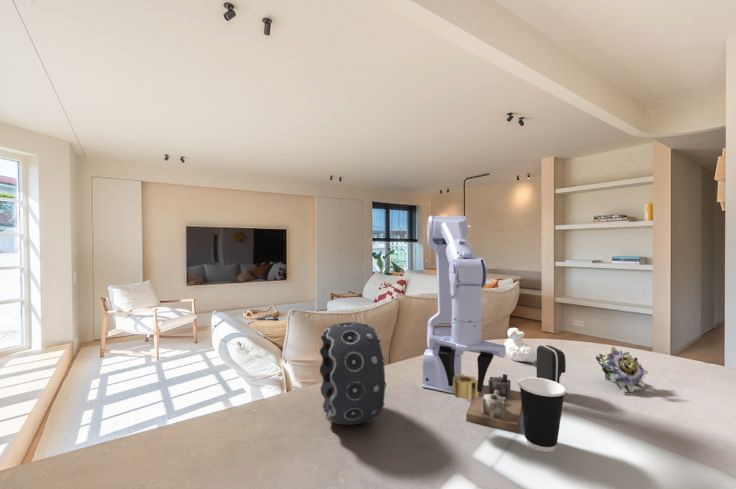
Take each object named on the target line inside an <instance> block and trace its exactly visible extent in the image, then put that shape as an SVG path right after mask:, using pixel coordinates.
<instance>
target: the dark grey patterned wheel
mask: <svg viewBox="0 0 736 489" xmlns="http://www.w3.org/2000/svg"><path fill="white" fill-rule="evenodd" d="M322 331H323V332H322V334H321V335H320V336H321V337H320V339H321V341H322V344H321V346H320V348H319V354H320V355H321V358H322V360H321V364H320V366H319V374H320V375H321V377H322V383H321V385H320V387H319V389H320V394H321V395H322V396H323V398H324V401H323V404H322V411H324V412H325V413H326V414H325V415H324V416H325V417H324V418H325V419H326V420H327V421H328V422H331V423H333V424H337V425H342V426H344V425H346V426H347V425H359V424H363V423H370V422H372V421H373V419H374V418H375V417H376V416H379V415H380V414H381V412H382V409H383V407H384V406H385V394H386V387H387V383H386V370H385V363H386V360H385V358H384V355H383V349H382V344H381V338H379V336H378V334H377V332H376V329H375V327H373V326H370V325H368V324H367V323H366V322H356V321H345V322H344V321H343V322H339V323H338V322H337V323H335V324H332V325H330V326H328V327H326V328H325V329H323V330H322Z"/></svg>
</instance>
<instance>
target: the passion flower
mask: <svg viewBox="0 0 736 489" xmlns="http://www.w3.org/2000/svg"><path fill="white" fill-rule="evenodd" d="M610 347H611V348H610V353H608V354H603V353H599V354H598V355H596V356H595V359H596V361H597V362H598V364H599V365H600V366H601V370H602V371H603V373H604V377H605V381H606V380H607V381H614V380H615V384H616V386H617V387H618V389H619V390H622V389H623V388H624V389H625V390H626V391H627V392H628V393H631V394H633V392H634V391H635V385H637V386H639V387H642V388H645V383H644V381H643V380H644V378H645V376H646V375H647V374H649V371H648V370H646V369H644V368H643V366H642V362H641V361H638V360H639V359H638V358H637V357H634V358H633V357H632V355H631V353H630V351H626V352H623V351H622V350H617V348H616V347H615V346H613V345H612V346H610ZM606 356H607V357H606ZM605 357H606V358H605ZM604 358H605V359H604ZM643 377H644V378H643Z"/></svg>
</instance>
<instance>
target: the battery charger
mask: <svg viewBox="0 0 736 489" xmlns="http://www.w3.org/2000/svg"><path fill="white" fill-rule="evenodd" d="M535 362H536V366H535V367H536V378H543V379H548V380H551V381H554V382H557V383H559V384H560V380H561V376H562V374H564V373H566V368H567V366H566V363H567V361H566V355H565V353H564V351H562V350H561V349H559V348H557V347H555V346H553V345H552V346H551V345H549V344H547V345H546V344H545V345H544V344H543V345H542V344H540V345H538V346H537V348H536V360H535Z"/></svg>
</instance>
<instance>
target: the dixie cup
mask: <svg viewBox="0 0 736 489" xmlns="http://www.w3.org/2000/svg"><path fill="white" fill-rule="evenodd" d="M517 383H518V384H517V385H518V386H519V390H520V391H519V392H521V403H522V409H521V414H522V420H523V421H522V422H523V431H524V432H523V433H524V438H525V442H526V444H527V446H528V447H530V448H532V449H533V450H535V451H539V452H541V453H542V452H543V453H552V452H554V451H555V450H556V446H557V444H558V438H559V431H560V426H561V425H560V424H561V417H562V410H563V405H564V396H565V394H566V393H567V389H566V388H565V386H564V385H562V384H561V383H560V382H559V383H557V382H554V381H551V380H548V379H543V378H537V376H535V377H532V376H531V377H524V378H521V379H519V380H518V382H517Z"/></svg>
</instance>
